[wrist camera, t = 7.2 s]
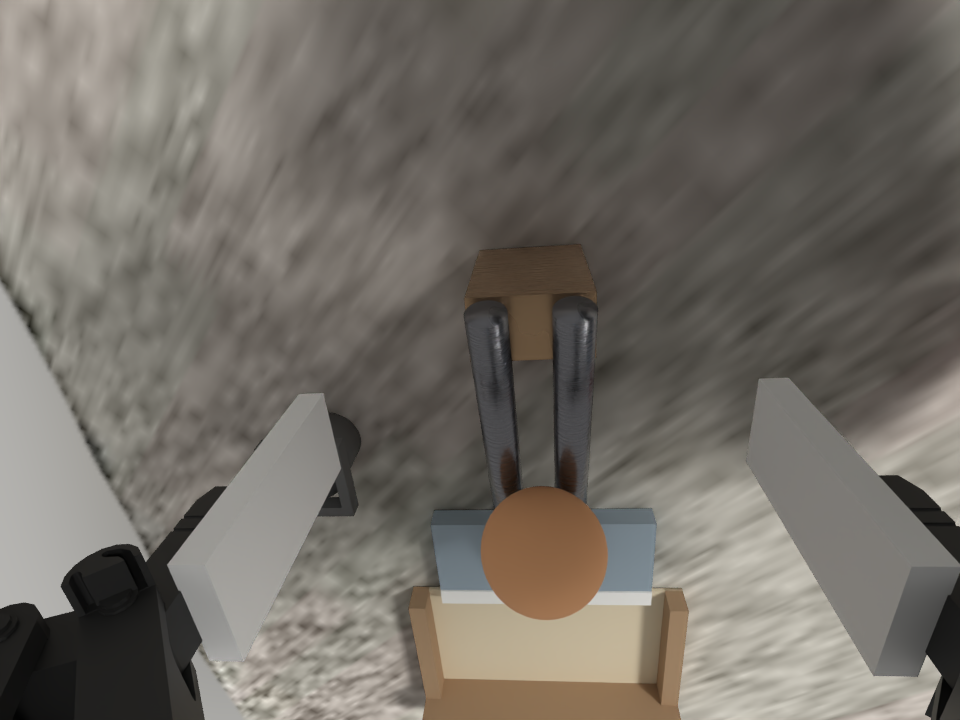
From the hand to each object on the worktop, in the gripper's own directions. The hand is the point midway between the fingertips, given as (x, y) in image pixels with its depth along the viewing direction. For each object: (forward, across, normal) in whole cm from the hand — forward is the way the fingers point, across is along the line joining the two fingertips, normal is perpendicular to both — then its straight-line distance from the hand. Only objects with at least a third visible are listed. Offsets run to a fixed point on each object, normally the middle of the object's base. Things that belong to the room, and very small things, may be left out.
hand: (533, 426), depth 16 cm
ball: (+3, 0, -8) cm, 8 cm away
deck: (+10, 0, -15) cm, 18 cm away
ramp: (+10, 0, -6) cm, 12 cm away
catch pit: (+10, 0, -23) cm, 25 cm away
